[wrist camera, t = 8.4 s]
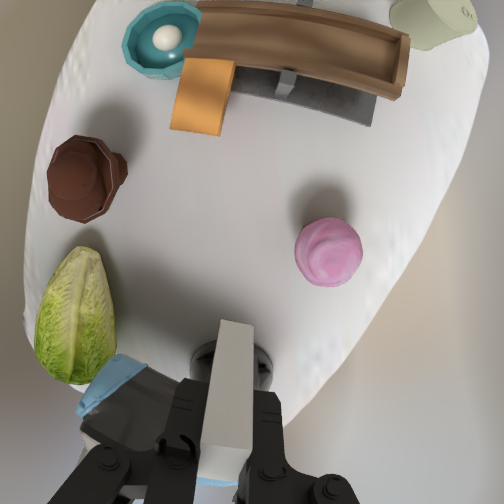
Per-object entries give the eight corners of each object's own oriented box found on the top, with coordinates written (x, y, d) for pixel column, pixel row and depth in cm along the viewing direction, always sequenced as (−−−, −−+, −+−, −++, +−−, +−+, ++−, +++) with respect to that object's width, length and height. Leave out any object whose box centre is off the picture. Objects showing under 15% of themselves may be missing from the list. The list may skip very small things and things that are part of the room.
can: (435, 60, 31) (481, 45, 20) (386, 36, 31) (425, 10, 20) (437, 18, 28) (478, -2, 17) (390, -6, 27) (424, -36, 16)
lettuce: (71, 230, 47) (145, 260, 51) (46, 343, 47) (113, 372, 51) (39, 232, 33) (134, 272, 37) (17, 374, 33) (99, 411, 37)
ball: (183, 51, 31) (156, 44, 28) (169, 55, 33) (144, 50, 30) (190, 26, 29) (164, 18, 26) (176, 32, 32) (152, 25, 29)
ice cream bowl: (88, 130, 36) (24, 133, 22) (152, 142, 37) (101, 145, 23) (78, 196, 40) (17, 223, 26) (138, 212, 41) (88, 247, 27)
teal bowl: (199, 82, 35) (194, 77, 31) (124, 77, 34) (114, 73, 30) (218, 12, 30) (215, 3, 27) (143, 11, 30) (135, 2, 26)
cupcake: (280, 220, 41) (288, 243, 32) (337, 198, 40) (360, 215, 31) (301, 273, 44) (312, 307, 35) (353, 252, 43) (377, 282, 34)
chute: (373, 174, 32) (385, 178, 26) (185, 131, 35) (161, 128, 29) (397, 49, 26) (411, 31, 20) (213, 17, 29) (195, -3, 23)
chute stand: (367, 126, 36) (397, 124, 27) (212, 89, 35) (200, 73, 26) (382, 49, 32) (411, 31, 23) (233, 10, 30) (227, -21, 21)
